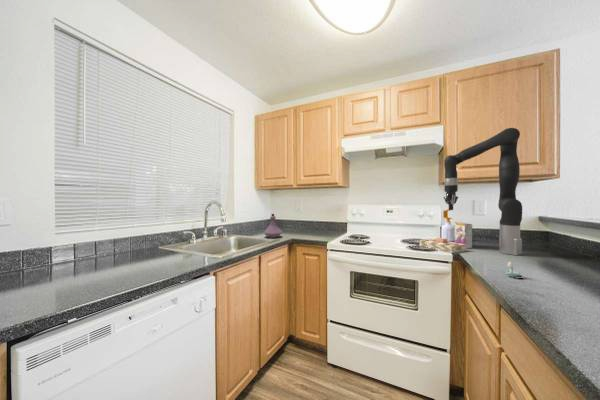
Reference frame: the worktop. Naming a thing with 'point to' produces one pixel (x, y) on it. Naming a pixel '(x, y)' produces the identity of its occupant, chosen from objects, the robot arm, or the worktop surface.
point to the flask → (272, 229)
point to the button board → (443, 246)
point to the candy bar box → (463, 233)
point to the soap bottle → (447, 228)
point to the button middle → (441, 240)
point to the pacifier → (512, 271)
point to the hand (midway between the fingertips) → (450, 210)
